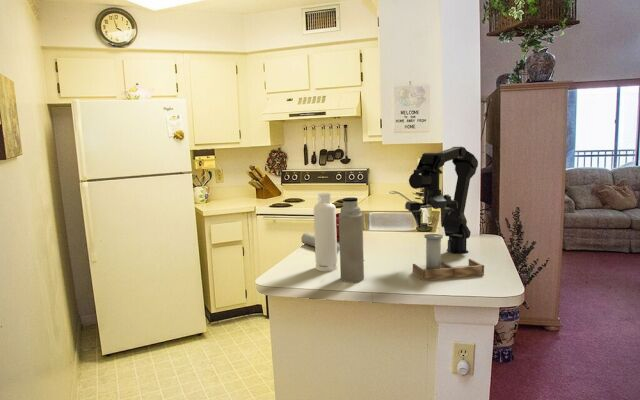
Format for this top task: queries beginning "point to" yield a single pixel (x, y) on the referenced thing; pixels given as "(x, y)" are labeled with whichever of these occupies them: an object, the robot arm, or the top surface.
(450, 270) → the rack
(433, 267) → the cord reel
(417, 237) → the top surface
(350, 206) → the thermos bottle
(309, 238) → the tube
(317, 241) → the bottle
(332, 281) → the top surface
